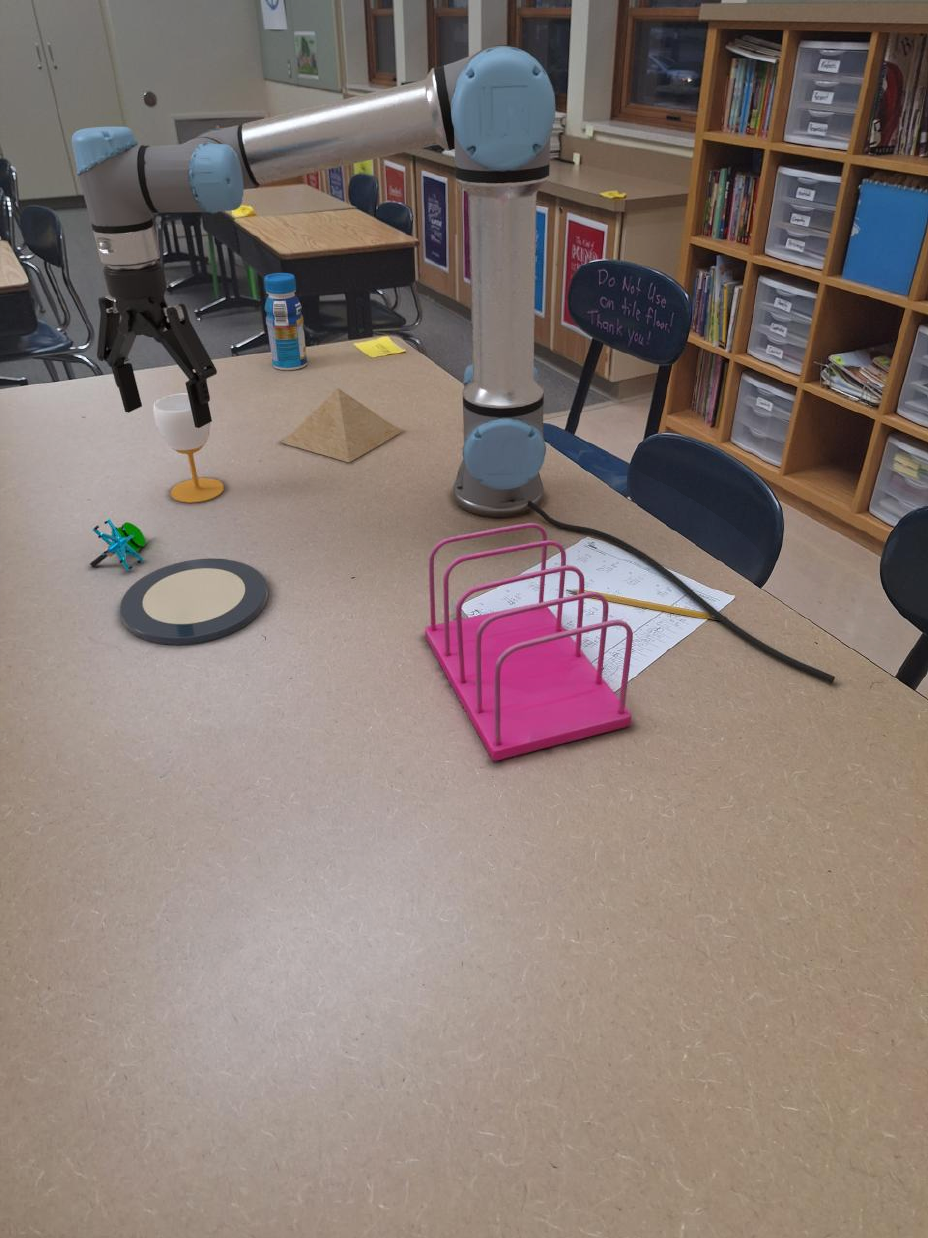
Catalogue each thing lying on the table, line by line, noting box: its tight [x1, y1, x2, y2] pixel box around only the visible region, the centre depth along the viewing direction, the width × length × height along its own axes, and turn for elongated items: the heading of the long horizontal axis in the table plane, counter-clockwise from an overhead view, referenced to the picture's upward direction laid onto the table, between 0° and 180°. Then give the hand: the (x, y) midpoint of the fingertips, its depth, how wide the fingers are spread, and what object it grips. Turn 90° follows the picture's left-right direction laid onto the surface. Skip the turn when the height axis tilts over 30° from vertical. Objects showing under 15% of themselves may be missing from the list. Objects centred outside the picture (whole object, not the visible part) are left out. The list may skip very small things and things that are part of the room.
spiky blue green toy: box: [89, 518, 146, 572], centre depth 130 cm, size 12×7×8 cm
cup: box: [152, 392, 225, 504], centre depth 145 cm, size 9×9×16 cm
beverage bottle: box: [263, 272, 308, 371], centre depth 196 cm, size 8×8×20 cm
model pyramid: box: [281, 387, 403, 463], centre depth 165 cm, size 17×17×10 cm
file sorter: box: [424, 522, 634, 762], centre depth 103 cm, size 17×25×16 cm
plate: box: [119, 557, 269, 646], centre depth 121 cm, size 20×20×1 cm
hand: (168, 416), depth 125 cm, fingers open, 13 cm apart
